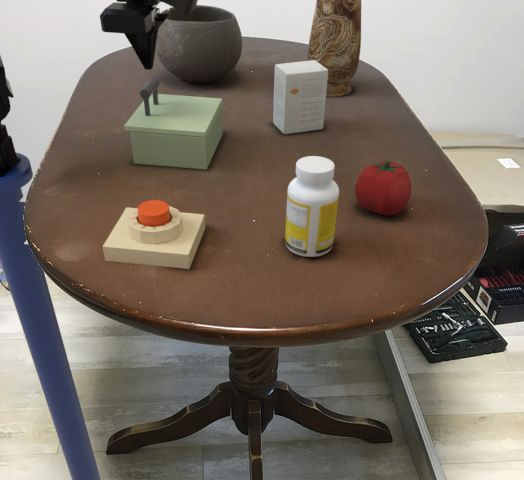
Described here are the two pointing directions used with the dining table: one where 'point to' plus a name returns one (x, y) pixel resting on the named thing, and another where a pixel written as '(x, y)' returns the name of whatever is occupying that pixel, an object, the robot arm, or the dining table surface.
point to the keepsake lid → (173, 113)
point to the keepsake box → (177, 147)
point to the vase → (336, 42)
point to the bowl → (199, 43)
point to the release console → (155, 240)
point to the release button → (153, 213)
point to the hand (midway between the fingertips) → (148, 68)
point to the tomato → (383, 188)
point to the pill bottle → (311, 207)
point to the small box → (299, 96)
